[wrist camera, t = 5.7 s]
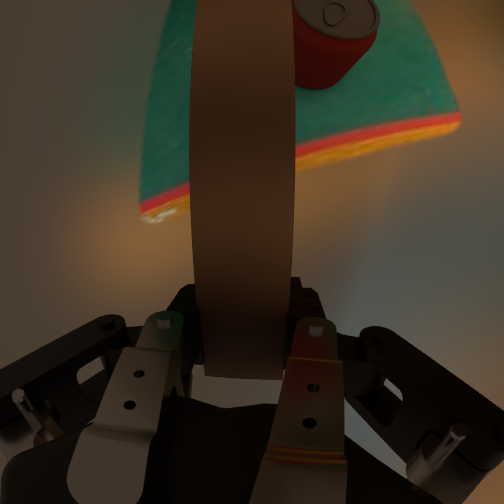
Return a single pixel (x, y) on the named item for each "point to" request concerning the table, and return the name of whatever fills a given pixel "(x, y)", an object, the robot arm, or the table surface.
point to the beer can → (330, 38)
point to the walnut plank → (242, 182)
